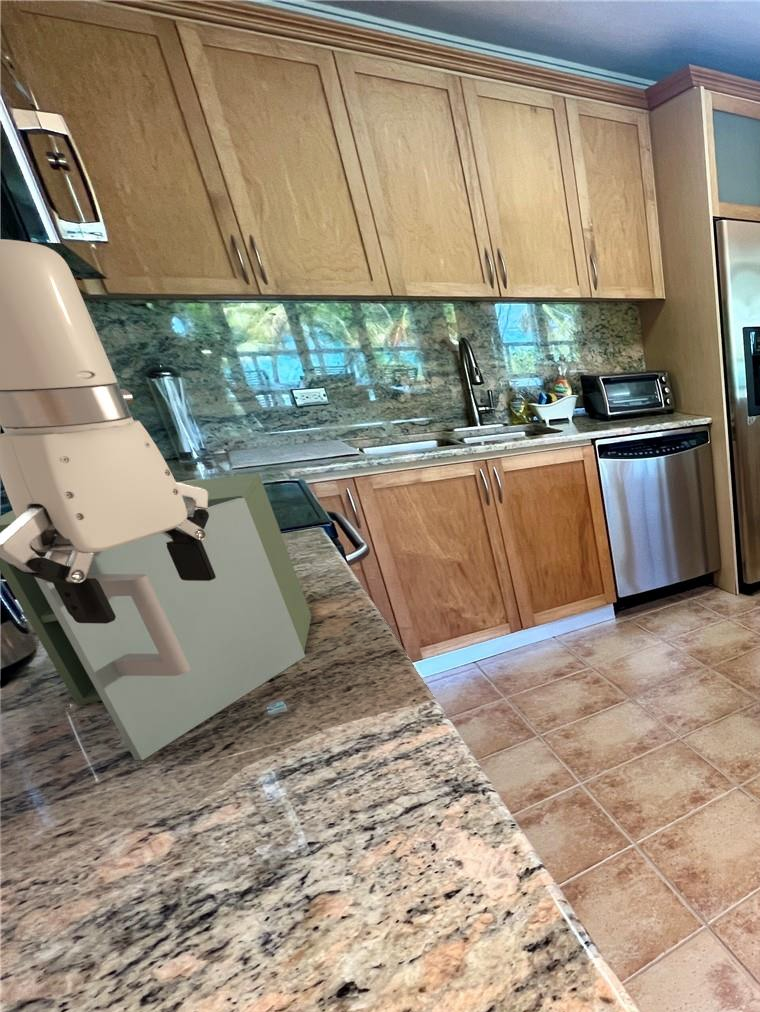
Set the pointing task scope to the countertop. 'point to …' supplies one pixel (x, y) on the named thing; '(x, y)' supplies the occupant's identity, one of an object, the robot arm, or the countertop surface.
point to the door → (182, 630)
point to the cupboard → (218, 492)
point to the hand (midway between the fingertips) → (151, 599)
